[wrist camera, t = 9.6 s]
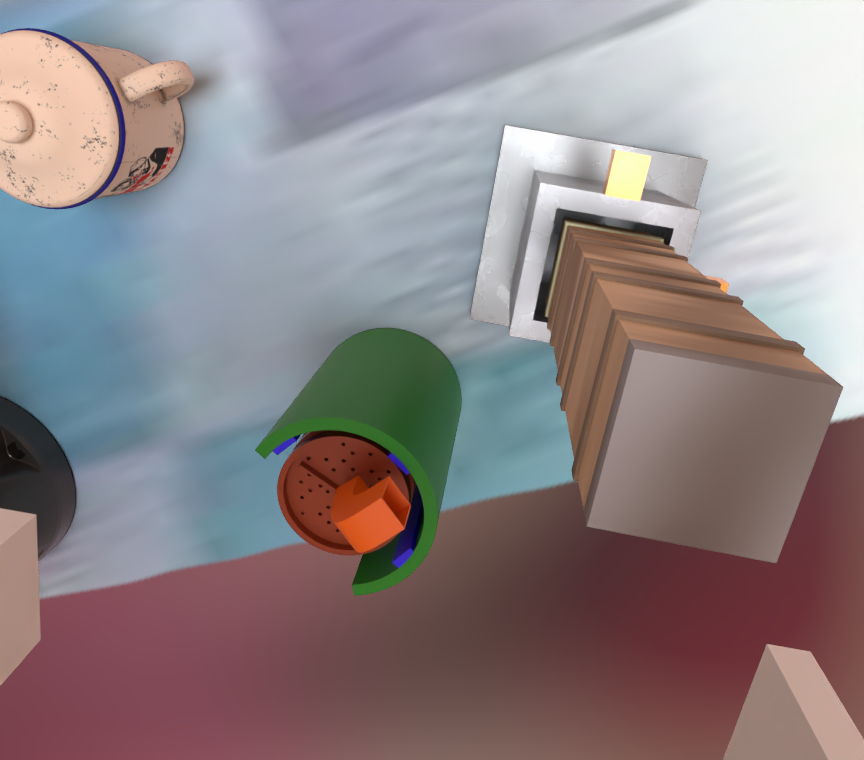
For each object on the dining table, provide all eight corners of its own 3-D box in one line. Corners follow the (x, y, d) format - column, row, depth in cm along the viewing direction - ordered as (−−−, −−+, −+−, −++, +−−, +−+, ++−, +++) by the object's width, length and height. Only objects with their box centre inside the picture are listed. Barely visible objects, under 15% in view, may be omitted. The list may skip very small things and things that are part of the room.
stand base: (470, 313, 49) (457, 372, 37) (505, 125, 45) (503, 126, 33) (649, 346, 48) (692, 415, 37) (701, 158, 44) (767, 171, 33)
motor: (300, 381, 52) (180, 529, 33) (388, 297, 49) (312, 405, 30) (401, 479, 53) (341, 672, 35) (491, 402, 51) (480, 567, 32)
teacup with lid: (97, 215, 49) (-21, 242, 38) (27, 79, 47) (-120, 66, 36) (253, 146, 47) (174, 154, 36) (188, -1, 44) (82, -41, 33)
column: (542, 302, 38) (581, 529, 17) (562, 215, 37) (631, 343, 16) (629, 318, 38) (779, 567, 17) (653, 231, 37) (849, 383, 15)
